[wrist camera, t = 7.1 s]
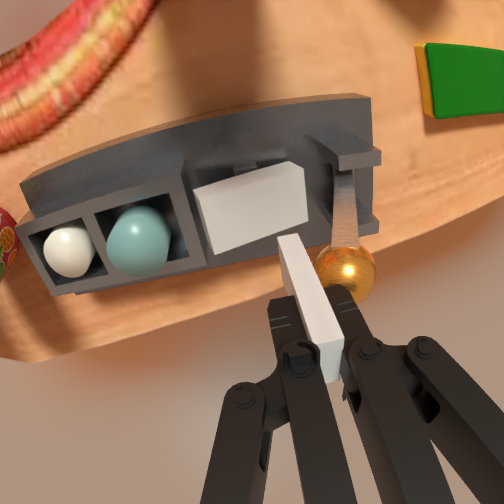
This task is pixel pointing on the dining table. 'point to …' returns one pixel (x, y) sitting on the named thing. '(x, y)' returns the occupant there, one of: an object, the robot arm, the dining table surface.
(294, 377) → the robot arm
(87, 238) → the button cream
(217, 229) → the white brick eraser
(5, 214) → the smoothie
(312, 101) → the grey compartment panel
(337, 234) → the lever
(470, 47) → the dish sponge
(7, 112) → the dining table surface
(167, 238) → the button teal
